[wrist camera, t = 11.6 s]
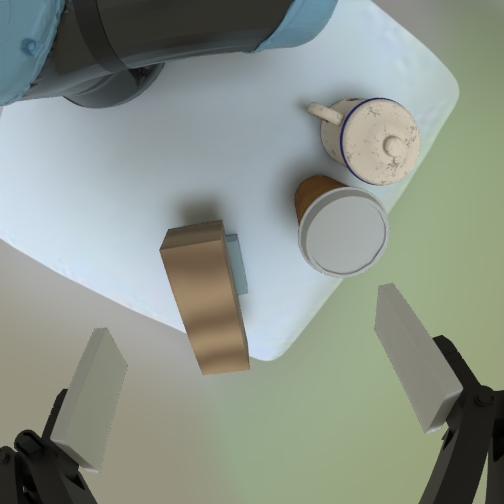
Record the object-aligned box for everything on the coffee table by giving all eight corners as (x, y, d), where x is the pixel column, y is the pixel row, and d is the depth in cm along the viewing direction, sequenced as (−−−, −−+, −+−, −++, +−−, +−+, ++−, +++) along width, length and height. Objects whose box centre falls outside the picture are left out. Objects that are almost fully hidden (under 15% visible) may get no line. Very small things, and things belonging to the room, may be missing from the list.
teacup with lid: (395, 118, 35) (448, 131, 25) (366, 178, 39) (409, 209, 28) (314, 72, 32) (348, 63, 22) (284, 138, 36) (305, 155, 26)
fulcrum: (177, 244, 41) (170, 267, 36) (237, 234, 41) (238, 256, 36) (192, 293, 45) (187, 320, 40) (247, 285, 45) (249, 311, 40)
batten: (168, 229, 34) (159, 250, 30) (222, 219, 34) (220, 239, 29) (204, 348, 42) (202, 375, 38) (247, 342, 42) (249, 369, 38)
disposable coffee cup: (304, 245, 43) (327, 297, 32) (267, 188, 39) (281, 226, 28) (364, 209, 41) (405, 250, 30) (332, 148, 37) (372, 171, 26)
